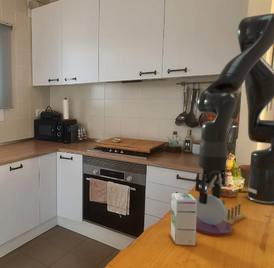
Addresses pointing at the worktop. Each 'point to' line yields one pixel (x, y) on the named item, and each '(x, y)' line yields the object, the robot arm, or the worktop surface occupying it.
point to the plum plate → (213, 228)
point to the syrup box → (183, 218)
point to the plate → (211, 210)
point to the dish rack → (233, 214)
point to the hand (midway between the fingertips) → (209, 200)
